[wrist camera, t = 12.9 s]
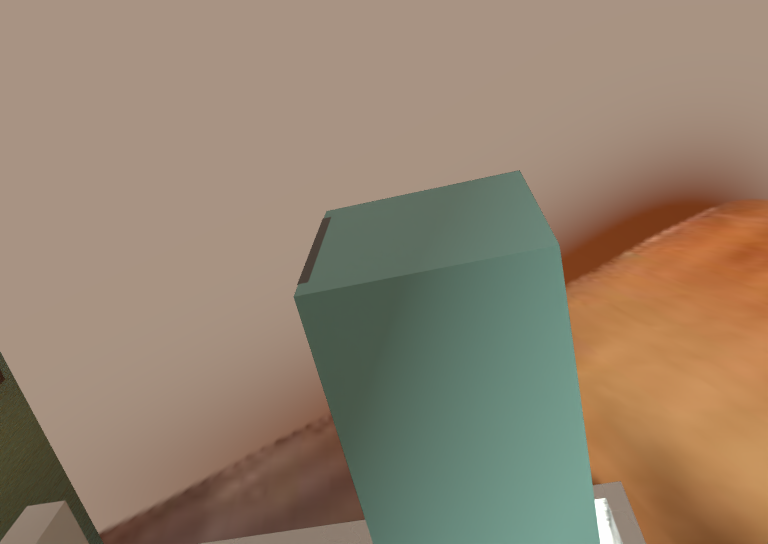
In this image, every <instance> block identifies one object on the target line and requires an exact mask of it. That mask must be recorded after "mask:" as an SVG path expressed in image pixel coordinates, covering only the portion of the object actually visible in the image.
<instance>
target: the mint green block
mask: <svg viewBox="0 0 768 544" xmlns="http://www.w3.org/2000/svg"><path fill="white" fill-rule="evenodd" d="M297 285H298V287H297V289H296V292H295V295H294V299H295V302H296V306H297V309H298V312H299V315H300V318H301V321H302V324H303V327H304V330H305V334H306V337H307V340H308V343H309V346H310V349H311V352H312V355H313V358H314V361H315V364H316V368H317V371H318V374H319V377H320V380H321V383H322V386H323V389H324V393H325V396H326V399H327V402H328V405H329V408H330V411H331V414H332V418H333V421H334V424H335V427H336V430H337V433H338V436H339V439H340V442H341V446H342V449H343V452H344V455H345V458H346V461H347V464H348V467H349V470H350V473H351V477H352V480H353V483H354V486H355V489H356V492H357V495H358V498H359V501H360V505H361V508H362V511H363V514H364V517H365V520H366V523H367V526H368V529H369V533H370V536H371V539H372V542H373V544H601V543H600V535H599V528H598V521H597V514H596V506H595V499H594V492H593V485H592V477H591V470H590V463H589V456H588V448H587V441H586V434H585V427H584V419H583V412H582V405H581V398H580V390H579V383H578V376H577V369H576V361H575V354H574V347H573V340H572V332H571V325H570V318H569V311H568V303H567V296H566V289H565V283H564V275H563V268H562V260H561V253H560V247H559V243H558V241H557V239H556V238H555V236H554V234H553V232H552V230H551V228H550V226H549V225H548V223H547V221H546V219H545V217H544V215H543V214H542V211H541V209H540V208H539V206H538V204H537V202H536V200H535V198H534V196H533V194H532V193H531V191H530V189H529V187H528V185H527V183H526V181H525V179H524V178H523V176H522V174H521V172H520V171H514V172H510V173H505V174H500V175H496V176H490V177H486V178H481V179H477V180H472V181H467V182H462V183H457V184H453V185H448V186H444V187H439V188H434V189H430V190H424V191H420V192H415V193H411V194H405V195H401V196H396V197H391V198H387V199H382V200H377V201H372V202H368V203H363V204H358V205H354V206H350V207H344V208H339V209H335V210H330V211H327V212H326V214H325V217H324V218H323V220H322V222H321V225H320V228H319V230H318V233H317V235H316V238H315V240H314V243H313V245H312V248H311V251H310V254H309V256H308V259H307V261H306V263H305V266H304V269H303V271H302V274H301V276H300V279H299V282H298V284H297Z"/></svg>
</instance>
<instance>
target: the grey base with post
mask: <svg viewBox="0 0 768 544" xmlns="http://www.w3.org/2000/svg"><path fill="white" fill-rule="evenodd" d="M593 492H594V499H595V506H596V514H597V521H598V528H599V535H600V543H601V544H646V542H645V540H644V537H643V535H642V533H641V530H640V528H639V525H638V523H637V520H636V518H635V515H634V513H633V510H632V508H631V505H630V503H629V500H628V498H627V495H626V493H625V490H624V488H623V486H622V483H621V481H619V482H612V483H605V484H598V485H593ZM59 501H66V503H67V504H68V506H69V508H70V510H71V512H72V514H73V515H74V517H75V519H76V521H77V523H78V525H79V526H80V528H81V530H82V532H83V534H84V535H85V537H86V539H87V541H88V543H89V544H104V543H103V541H102V540H101V538H100V536H99V534H98V532H97V530H96V529H95V527H94V525H93V523H92V521H91V519H90V518H89V516H88V514H87V512H86V510H85V508H84V506H83V504H82V503H81V501H80V499H79V497H78V495H77V494H76V491H75V490H74V488H73V486H72V484H71V482H70V480H69V478H68V477H67V475H66V473H65V471H64V469H63V467H62V465H61V464H60V462H59V460H58V458H57V456H56V454H55V452H54V451H53V449H52V447H51V446H50V443H49V441H48V439H47V438H46V436H45V434H44V432H43V430H42V428H41V427H40V425H39V423H38V421H37V419H36V417H35V415H34V414H33V412H32V410H31V408H30V406H29V404H28V402H27V401H26V399H25V397H24V395H23V393H22V391H21V389H20V388H19V386H18V384H17V382H16V380H15V378H14V376H13V375H12V373H11V371H10V369H9V367H8V365H7V363H6V362H5V360H4V358H3V356H2V354H1V352H0V541H1V540H2V539H3V537H4V536H5V535H6V533H7V532H8V531H9V529H10V528H11V527H12V525H13V524H14V523H15V522H16V520H17V519H18V518H19V516H20V515H21V514H22V512H23V511H24V510H25V508H26V507H27V506H32V505H38V504H45V503H52V502H59ZM200 544H373V542H372V539H371V536H370V533H369V529H368V526H367V523H366V520H359V521H352V522H345V523H338V524H331V525H324V526H317V527H311V528H304V529H297V530H290V531H283V532H276V533H269V534H262V535H255V536H249V537H242V538H235V539H228V540H221V541H214V542H207V543H200Z"/></svg>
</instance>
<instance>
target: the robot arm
mask: <svg viewBox="0 0 768 544" xmlns="http://www.w3.org/2000/svg"><path fill="white" fill-rule="evenodd" d="M0 544H89V543H88V541H87V539H86V537H85V535H84V534H83V532H82V530H81V528H80V526H79V525H78V523H77V521H76V519H75V517H74V515H73V514H72V512H71V510H70V508H69V506H68V504H67V503H66V501H59V502H52V503H45V504H38V505H32V506H27V507H26V508H25V510H24V511H23V512H22V514H21V515H20V516H19V518H18V519H17V520H16V522H15V523H14V524H13V525H12V527H11V528H10V529H9V531H8V532H7V533H6V535H5V536H4V537H3V539H2V540H1V541H0Z"/></svg>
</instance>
